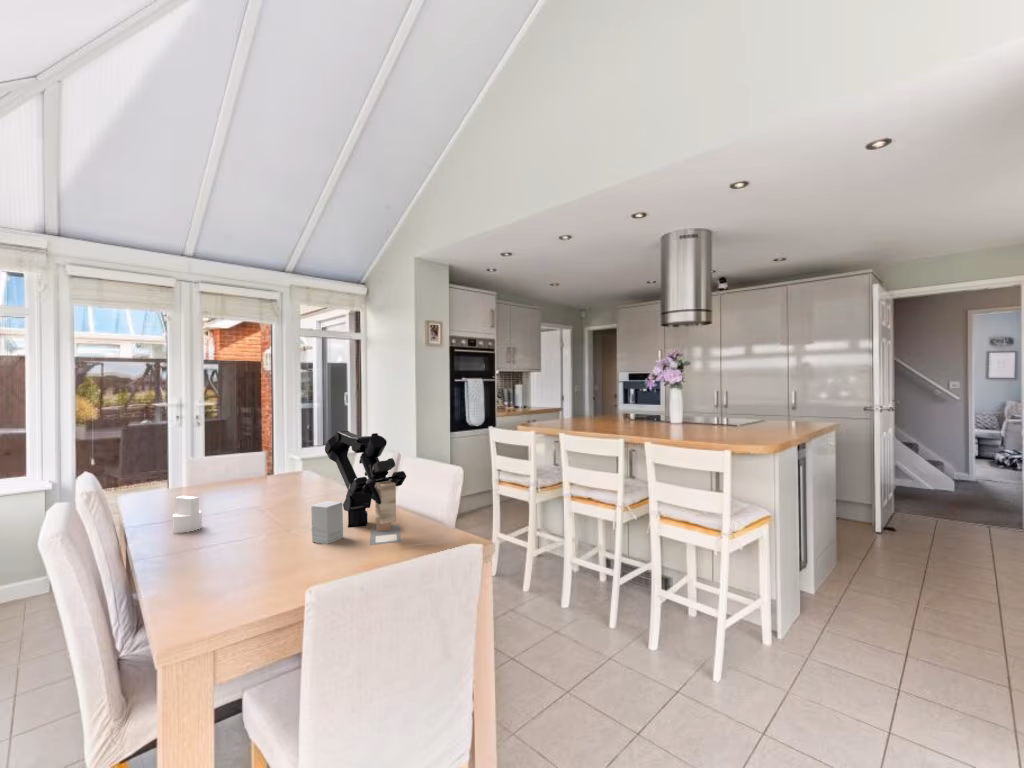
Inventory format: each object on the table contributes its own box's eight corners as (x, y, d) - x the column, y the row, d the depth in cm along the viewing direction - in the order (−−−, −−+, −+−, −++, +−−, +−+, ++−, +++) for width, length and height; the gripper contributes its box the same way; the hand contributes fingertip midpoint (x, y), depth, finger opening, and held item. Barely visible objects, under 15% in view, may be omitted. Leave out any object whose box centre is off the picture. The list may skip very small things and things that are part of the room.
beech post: (375, 520, 164) (375, 483, 164) (389, 517, 167) (388, 480, 167) (382, 524, 160) (382, 485, 160) (395, 521, 163) (395, 483, 163)
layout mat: (369, 546, 157) (369, 544, 157) (370, 528, 177) (370, 526, 177) (400, 542, 160) (400, 541, 160) (398, 525, 179) (398, 524, 179)
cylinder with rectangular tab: (167, 531, 176) (166, 499, 176) (191, 524, 184) (190, 493, 184) (183, 534, 173) (182, 501, 173) (207, 527, 181) (206, 495, 181)
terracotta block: (376, 531, 171) (376, 517, 171) (376, 527, 176) (376, 513, 176) (390, 530, 173) (390, 516, 173) (390, 526, 177) (390, 512, 177)
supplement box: (343, 538, 165) (343, 502, 165) (327, 545, 159) (326, 507, 159) (328, 535, 169) (327, 500, 168) (311, 542, 162) (310, 505, 162)
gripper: (353, 454, 160) (368, 493, 152) (403, 448, 172) (420, 483, 164) (344, 474, 166) (358, 512, 158) (393, 467, 178) (408, 502, 170)
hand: (387, 502), depth 162 cm, fingers closed on beech post, 5 cm apart
